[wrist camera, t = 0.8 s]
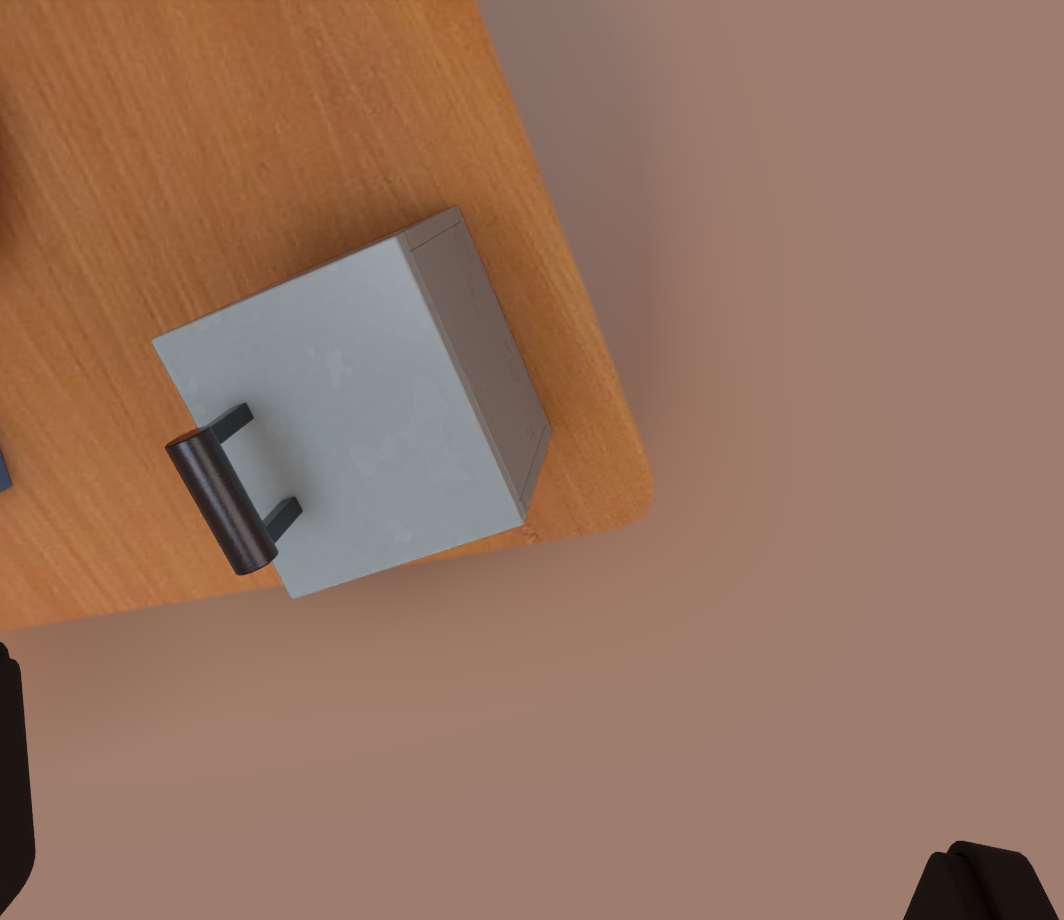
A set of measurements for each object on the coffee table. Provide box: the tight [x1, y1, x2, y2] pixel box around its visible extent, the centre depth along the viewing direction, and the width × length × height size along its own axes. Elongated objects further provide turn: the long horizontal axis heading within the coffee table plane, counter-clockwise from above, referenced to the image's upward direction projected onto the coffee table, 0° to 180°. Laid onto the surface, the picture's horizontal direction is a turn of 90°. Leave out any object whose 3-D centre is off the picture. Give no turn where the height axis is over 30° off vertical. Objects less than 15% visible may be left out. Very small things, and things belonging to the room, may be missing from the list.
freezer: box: [184, 205, 552, 515], centre depth 38 cm, size 9×11×10 cm
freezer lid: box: [151, 234, 526, 599], centre depth 31 cm, size 10×11×5 cm
